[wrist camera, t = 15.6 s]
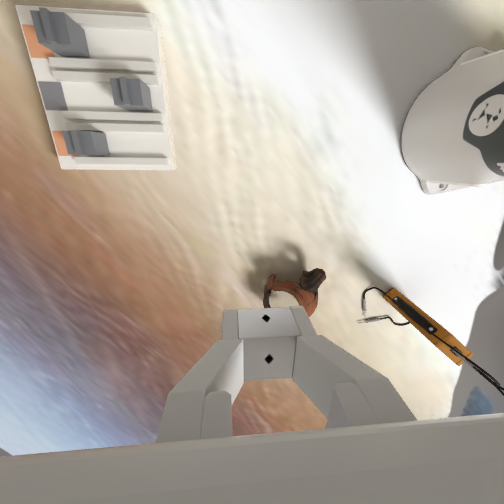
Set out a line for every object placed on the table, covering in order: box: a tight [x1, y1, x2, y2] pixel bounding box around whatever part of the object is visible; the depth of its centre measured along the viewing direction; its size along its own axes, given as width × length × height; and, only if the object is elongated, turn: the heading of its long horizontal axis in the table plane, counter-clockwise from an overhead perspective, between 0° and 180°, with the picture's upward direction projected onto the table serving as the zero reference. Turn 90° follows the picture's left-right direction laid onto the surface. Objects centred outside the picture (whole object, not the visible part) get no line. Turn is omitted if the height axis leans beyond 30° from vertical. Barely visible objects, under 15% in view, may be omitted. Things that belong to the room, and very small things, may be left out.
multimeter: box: [359, 287, 504, 396], centre depth 38 cm, size 15×10×20 cm
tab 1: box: [30, 7, 90, 58], centre depth 23 cm, size 3×2×4 cm
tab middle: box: [110, 76, 153, 111], centre depth 26 cm, size 3×2×4 cm
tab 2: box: [62, 130, 110, 155], centre depth 27 cm, size 3×2×4 cm
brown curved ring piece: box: [263, 268, 326, 317], centre depth 40 cm, size 12×10×8 cm
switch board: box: [15, 5, 176, 170], centre depth 28 cm, size 14×16×3 cm
